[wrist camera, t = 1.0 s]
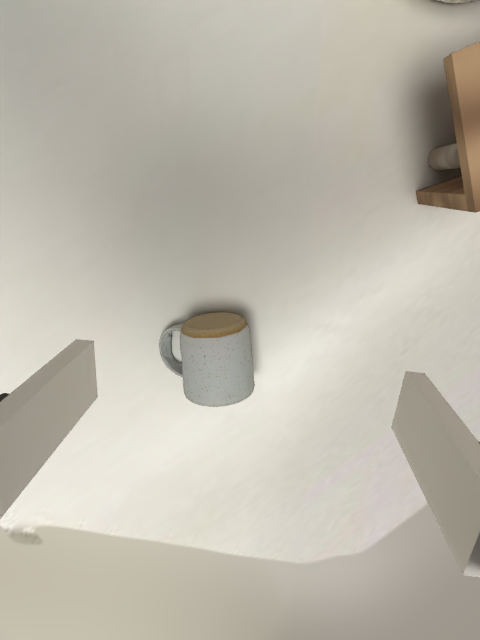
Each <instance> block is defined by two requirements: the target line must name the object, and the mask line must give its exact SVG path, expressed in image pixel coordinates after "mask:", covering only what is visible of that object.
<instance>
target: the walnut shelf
mask: <svg viewBox="0 0 480 640" xmlns="http://www.w3.org/2000/svg"><path fill="white" fill-rule="evenodd" d="M444 66H445V72H446V78H447V85H448V91H449V97H450V104H451V110H452V116H453V122H454V129H455V135H456V141H457V143H455V144H451V145H446V146H441V147H437V148H435V149H433V150H432V151H431V152H430V154H429V156H428V165H429V166H430V168H432V169H434V170H446V169H460V168H461V173H462V176H460V177H457V178H454V179H451V180H448V181H445V182H442V183H440V184H437V185H434V186H431V187H428V188H425V189H422V190H419V191H416V194H417V200H418V204H423V205H429V206H436V207H442V208H449V209H456V210H462V211H469V212H479V211H480V42H479V43H476V44H474V45H471V46H469V47H466V48H464V49H461V50H459V51H456V52H454V53H451V54H450V55H449V56H447V57H446V58H445V59H444Z"/></svg>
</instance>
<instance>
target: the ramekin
mask: <svg viewBox="0 0 480 640" xmlns="http://www.w3.org/2000/svg"><path fill="white" fill-rule="evenodd" d="M437 1H443V2H445V3H455V4H458V3H468V2H470V1H476V0H437Z"/></svg>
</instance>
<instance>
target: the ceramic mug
mask: <svg viewBox="0 0 480 640" xmlns="http://www.w3.org/2000/svg"><path fill="white" fill-rule="evenodd" d="M175 330H179V331H181V333H180V349H181V356H182V366H181V365H180V364H179V363H178V362H177V361H176V360H175V359H174V358H173V355H172V353H171V339H172V338H171V333H172V331H175ZM159 347H160V354H161V357H162V360H163V362H164V363H165V365H166V366H167V367H168V368H169V369H170V370H171V371H172V372H174V373H175V374H177V375H178V376H181V377H183V387H184V394H185V396H186V398H187V399H188V400H190V401H191V402H193V403H195V404H199V405H202V406H210V407H219V406H227V405H232V404H236V403H238V402H241V401H242V400H244V399H246V398H247V397H249V396H250V395H251V394H252V392H253V390H254V375H253V363H252V353H251V341H250V332H249V328H248V324H247V322H246V320H245V319H244V318H243V317H241V316H240V315H237V314H234V313H224V312H218V313H207V314H202V315H198V316H195V317H192V318H190V319H188V320H187V321H186V322H185V323H184V324H177V325H174V326H172V327H170V328H168V329H167V330H165V331H164V333H163V334H162V336H161V338H160V343H159Z"/></svg>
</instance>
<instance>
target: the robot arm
mask: <svg viewBox="0 0 480 640" xmlns="http://www.w3.org/2000/svg"><path fill="white" fill-rule="evenodd" d="M97 397H98V395H97V381H96V367H95V353H94V341H88V340H78V339H76V340H75V341H74V342H72V343H71V344H70V345H69V346H67V347H66V348H65V349H64V350H63V351H61V352H60V353H59V354H58V355H57V356H55V357H54V358H53V359H52V360H50V361H49V362H48V363H47V364H46V365H44V366H43V367H42V368H41V369H40V370H38V371H37V372H36V373H35V374H33V375H32V376H31V377H30V378H29V379H27V380H26V381H25V382H24V383H23V384H21V385H20V386H19V387H18V388H16V389H15V390H14V391H13V392H12V393H10V394H7V393H3V394H1V395H0V519H1V517H2V516H3V515H4V514H5V512H6V511H7V510H8V509H9V507H10V506H11V505H12V504H13V502H14V501H15V500H16V499H17V497H18V496H19V495H20V494H21V492H22V491H23V490H24V488H25V487H26V486H27V485H28V483H29V482H30V481H31V480H32V478H33V477H34V476H35V475H36V473H37V472H38V471H39V470H40V468H41V467H42V466H43V465H44V463H45V462H46V461H47V460H48V458H49V457H50V456H51V455H52V453H53V452H54V451H55V450H56V448H57V447H58V446H59V445H60V443H61V442H62V441H63V440H64V438H65V437H66V436H67V434H68V433H69V432H70V431H71V429H72V428H73V427H74V426H75V424H76V423H77V422H78V421H79V419H80V418H81V417H82V416H83V414H84V413H85V412H86V411H87V409H88V408H89V407H90V406H91V404H92V403H93V402H94V401H95V399H96V398H97ZM392 429H393V431H394V433H395V435H396V438H397V440H398V442H399V444H400V446H401V448H402V450H403V452H404V454H405V456H406V458H407V460H408V462H409V465H410V467H411V469H412V471H413V473H414V475H415V477H416V479H417V481H418V483H419V485H420V487H421V489H422V491H423V494H424V496H425V498H426V500H427V502H428V504H429V506H430V508H431V510H432V512H433V514H434V516H435V518H436V521H437V523H438V525H439V526H440V529H441V531H442V533H443V535H444V537H445V539H446V541H447V543H448V545H449V547H450V549H451V551H452V553H453V556H454V558H455V560H456V562H457V564H458V566H459V568H460V570H461V572H462V574H463V575H467V576H475V577H480V442H478V440H477V439H476V438H475V437H474V435H473V434H472V433H471V432H470V430H469V429H468V428H467V426H466V425H465V424H464V423H463V421H462V420H461V419H460V418H459V416H458V415H457V414H456V412H455V411H454V410H453V409H452V407H451V406H450V405H449V404H448V402H447V401H446V400H445V398H444V397H443V396H442V395H441V393H440V392H439V391H438V390H437V388H436V387H435V386H434V384H433V383H432V382H431V381H430V379H429V378H428V377H427V376H426V374H425V373H418V372H408V371H406V372H405V376H404V379H403V383H402V387H401V391H400V395H399V399H398V403H397V407H396V411H395V415H394V419H393V423H392Z"/></svg>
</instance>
